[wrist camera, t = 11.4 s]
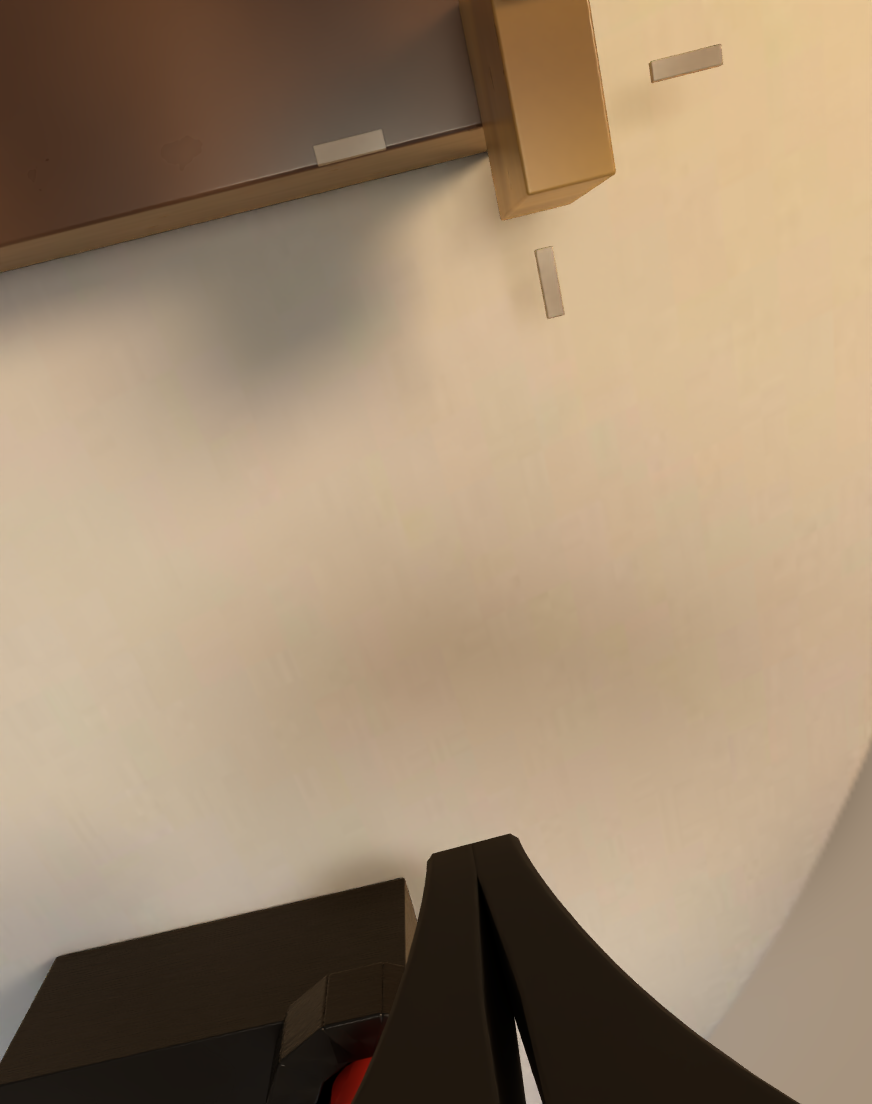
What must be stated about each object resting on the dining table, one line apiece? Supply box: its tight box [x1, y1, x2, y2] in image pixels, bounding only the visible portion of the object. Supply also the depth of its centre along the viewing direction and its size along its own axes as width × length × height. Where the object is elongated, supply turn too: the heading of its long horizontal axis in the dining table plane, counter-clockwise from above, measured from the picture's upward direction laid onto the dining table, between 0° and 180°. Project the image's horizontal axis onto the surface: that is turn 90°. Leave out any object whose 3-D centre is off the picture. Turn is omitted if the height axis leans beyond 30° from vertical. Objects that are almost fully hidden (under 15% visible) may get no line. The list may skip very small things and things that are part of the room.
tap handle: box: [459, 0, 616, 220], centre depth 14 cm, size 4×2×4 cm, turn 13°
